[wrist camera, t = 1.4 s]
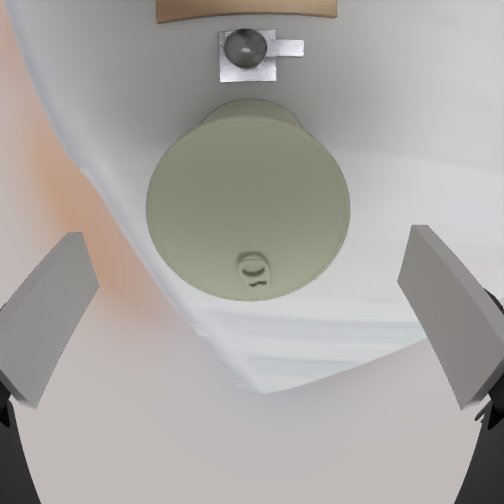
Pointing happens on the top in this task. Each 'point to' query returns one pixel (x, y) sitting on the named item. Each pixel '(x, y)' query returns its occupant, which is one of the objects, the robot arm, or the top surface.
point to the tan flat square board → (241, 8)
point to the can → (248, 204)
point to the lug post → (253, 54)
